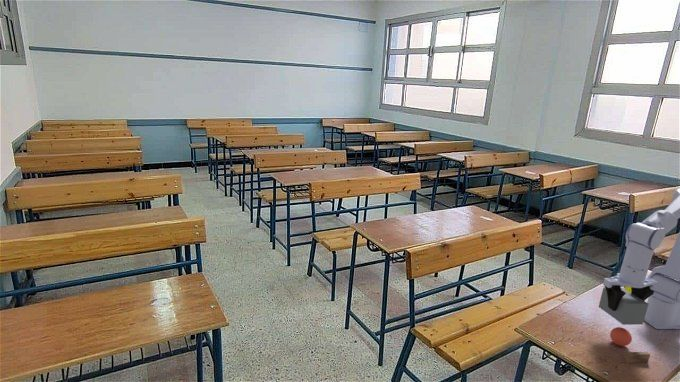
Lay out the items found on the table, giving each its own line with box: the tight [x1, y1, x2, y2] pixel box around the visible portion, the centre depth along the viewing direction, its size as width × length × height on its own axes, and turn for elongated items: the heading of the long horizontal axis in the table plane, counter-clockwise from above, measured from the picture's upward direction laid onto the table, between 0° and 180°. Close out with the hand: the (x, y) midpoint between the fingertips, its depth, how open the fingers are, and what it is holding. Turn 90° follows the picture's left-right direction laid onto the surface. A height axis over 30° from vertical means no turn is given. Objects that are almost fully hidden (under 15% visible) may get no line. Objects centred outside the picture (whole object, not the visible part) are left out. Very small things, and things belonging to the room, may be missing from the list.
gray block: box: [598, 286, 649, 326], centre depth 109 cm, size 6×9×6 cm, turn 5°
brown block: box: [624, 351, 651, 364], centre depth 103 cm, size 6×1×2 cm, turn 96°
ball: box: [609, 326, 633, 347], centre depth 109 cm, size 5×5×5 cm
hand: (622, 308), depth 109 cm, fingers closed on gray block, 6 cm apart
